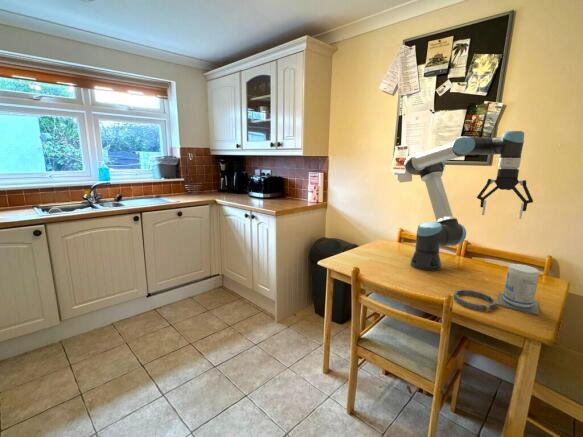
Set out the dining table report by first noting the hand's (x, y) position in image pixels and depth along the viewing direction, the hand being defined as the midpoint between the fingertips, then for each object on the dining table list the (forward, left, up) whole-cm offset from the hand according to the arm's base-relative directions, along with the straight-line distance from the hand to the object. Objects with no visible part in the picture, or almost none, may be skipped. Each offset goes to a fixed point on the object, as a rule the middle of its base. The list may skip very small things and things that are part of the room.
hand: (501, 216), depth 132 cm
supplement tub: (+10, -18, -31) cm, 38 cm away
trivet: (+10, -18, -32) cm, 38 cm away
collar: (-4, -27, -32) cm, 42 cm away
